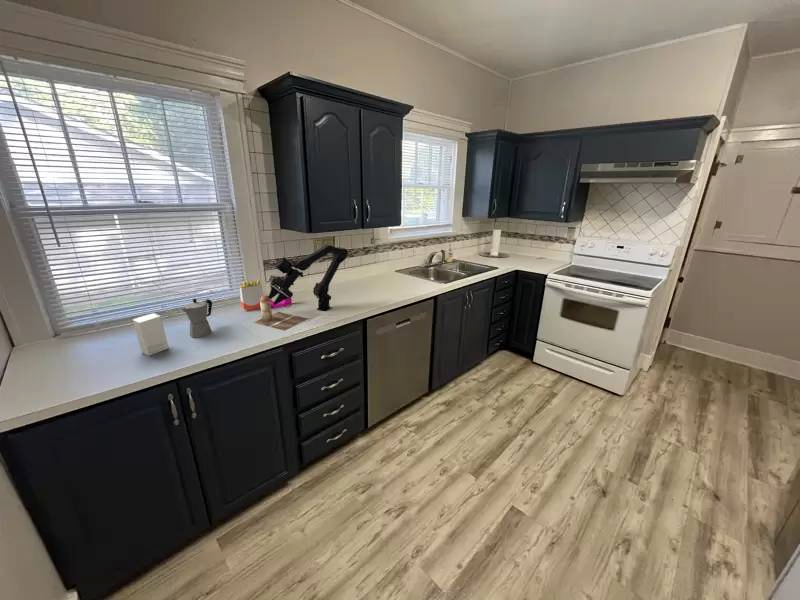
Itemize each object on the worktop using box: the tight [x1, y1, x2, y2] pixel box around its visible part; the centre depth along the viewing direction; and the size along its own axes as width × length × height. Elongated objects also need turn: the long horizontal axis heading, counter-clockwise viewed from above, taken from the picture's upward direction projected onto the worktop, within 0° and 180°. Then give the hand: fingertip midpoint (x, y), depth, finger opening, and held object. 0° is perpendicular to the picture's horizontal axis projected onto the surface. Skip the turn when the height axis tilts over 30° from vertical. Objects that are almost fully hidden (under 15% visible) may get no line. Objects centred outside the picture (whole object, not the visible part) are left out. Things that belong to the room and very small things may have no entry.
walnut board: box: [252, 311, 310, 332], centre depth 172 cm, size 18×22×1 cm
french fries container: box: [239, 279, 263, 312], centre depth 186 cm, size 5×11×18 cm, turn 135°
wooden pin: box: [260, 295, 273, 322], centre depth 170 cm, size 5×5×14 cm
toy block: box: [270, 297, 293, 310], centre depth 194 cm, size 15×6×8 cm, turn 129°
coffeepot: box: [182, 298, 213, 339], centre depth 155 cm, size 15×9×18 cm, turn 162°
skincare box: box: [132, 313, 169, 356], centre depth 138 cm, size 8×7×16 cm
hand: (271, 301), depth 171 cm, fingers open, 9 cm apart
